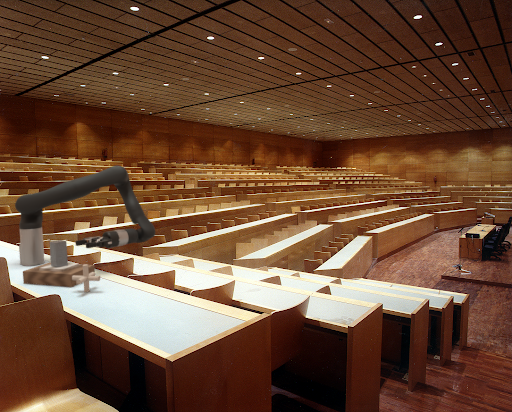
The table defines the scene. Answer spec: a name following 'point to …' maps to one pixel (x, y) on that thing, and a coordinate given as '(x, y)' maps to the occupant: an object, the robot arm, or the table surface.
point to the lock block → (58, 253)
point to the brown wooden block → (55, 274)
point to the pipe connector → (86, 278)
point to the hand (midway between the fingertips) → (81, 244)
